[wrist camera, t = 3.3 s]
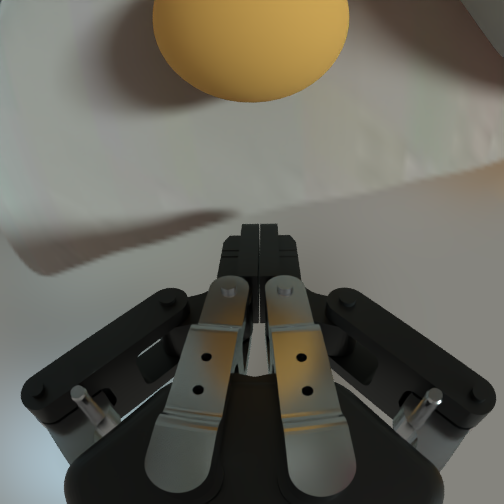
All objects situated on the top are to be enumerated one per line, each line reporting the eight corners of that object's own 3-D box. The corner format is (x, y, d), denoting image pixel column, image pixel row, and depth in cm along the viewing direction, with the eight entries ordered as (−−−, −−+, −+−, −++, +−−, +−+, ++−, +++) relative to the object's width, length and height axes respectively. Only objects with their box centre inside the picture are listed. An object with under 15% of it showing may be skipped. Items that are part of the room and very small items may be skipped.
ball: (176, -32, 9) (119, -78, 4) (326, -37, 9) (369, -89, 4) (183, 95, 12) (131, 128, 7) (327, 92, 12) (373, 123, 7)
